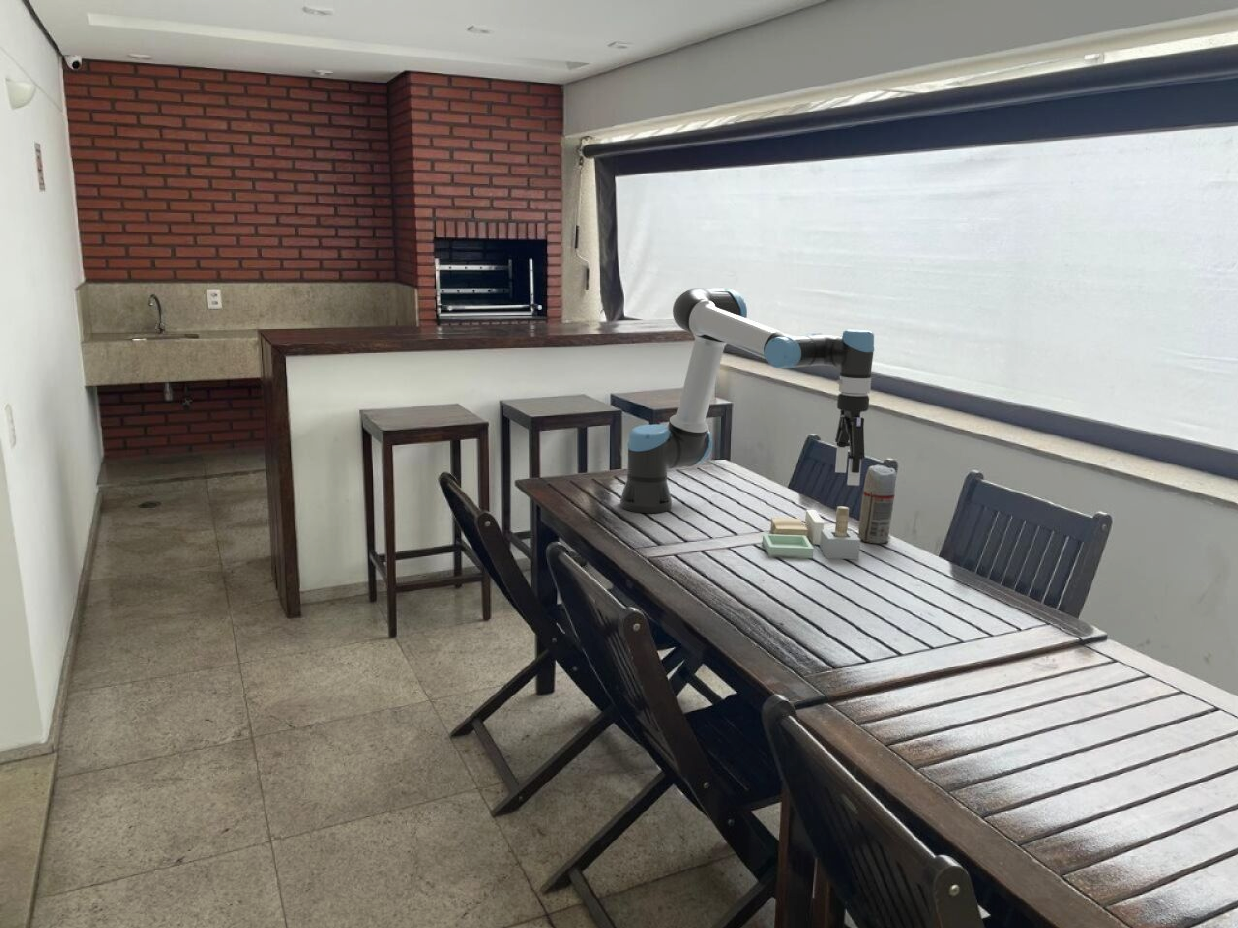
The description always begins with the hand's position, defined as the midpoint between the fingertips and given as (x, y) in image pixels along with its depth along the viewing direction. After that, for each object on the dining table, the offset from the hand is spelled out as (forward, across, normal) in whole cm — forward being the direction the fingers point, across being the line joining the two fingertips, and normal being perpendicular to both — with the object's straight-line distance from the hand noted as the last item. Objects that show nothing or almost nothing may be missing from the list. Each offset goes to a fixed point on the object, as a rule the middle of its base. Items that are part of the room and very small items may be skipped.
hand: (846, 478), depth 241 cm
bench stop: (+20, -13, -4) cm, 24 cm away
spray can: (+20, -13, +12) cm, 27 cm away
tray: (+20, -1, -13) cm, 24 cm away
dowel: (+20, 0, 0) cm, 20 cm away
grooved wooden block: (+20, -13, -11) cm, 26 cm away
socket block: (+20, 0, 0) cm, 20 cm away
